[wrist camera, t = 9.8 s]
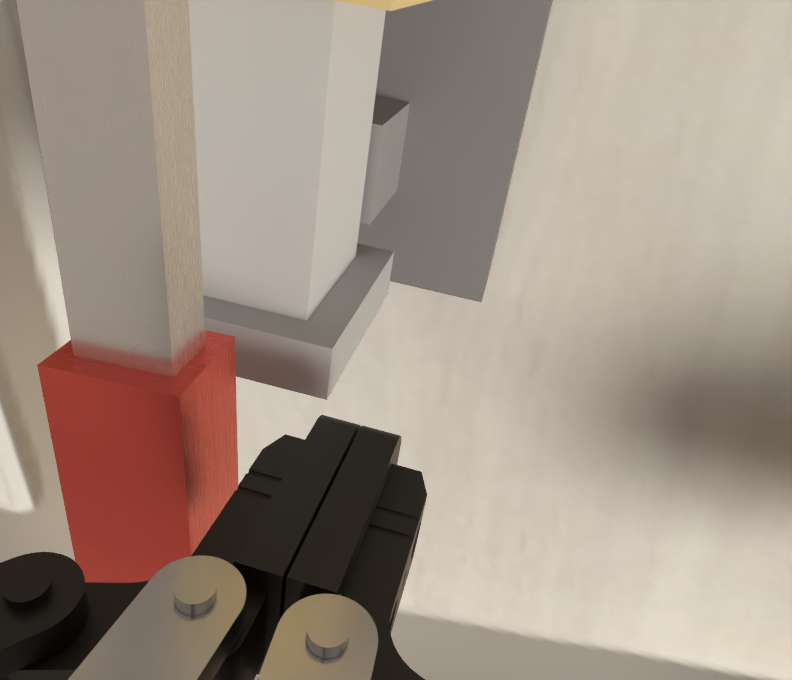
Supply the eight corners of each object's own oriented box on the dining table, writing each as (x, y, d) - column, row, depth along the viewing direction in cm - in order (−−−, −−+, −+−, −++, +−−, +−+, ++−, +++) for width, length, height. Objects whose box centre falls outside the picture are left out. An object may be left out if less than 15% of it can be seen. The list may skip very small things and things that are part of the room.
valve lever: (-10, -523, 7) (-188, -672, 5) (234, -522, 6) (123, -681, 5) (130, 525, 14) (72, 597, 12) (250, 556, 14) (207, 635, 12)
